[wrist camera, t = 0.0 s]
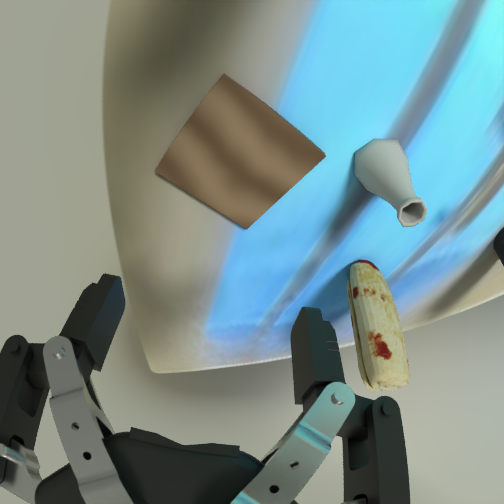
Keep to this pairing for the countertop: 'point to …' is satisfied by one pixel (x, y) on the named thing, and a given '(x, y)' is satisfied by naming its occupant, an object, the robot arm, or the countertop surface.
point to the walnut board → (238, 154)
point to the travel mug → (500, 245)
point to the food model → (376, 329)
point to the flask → (389, 178)
